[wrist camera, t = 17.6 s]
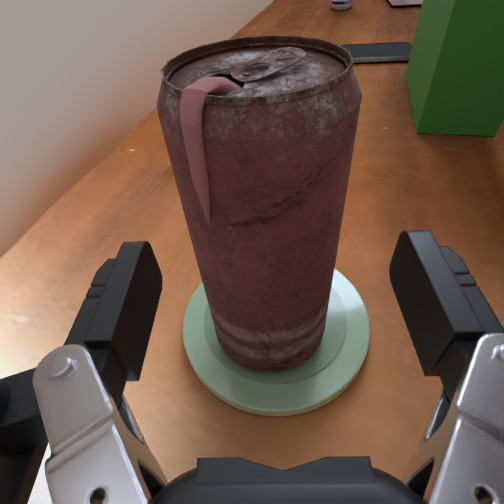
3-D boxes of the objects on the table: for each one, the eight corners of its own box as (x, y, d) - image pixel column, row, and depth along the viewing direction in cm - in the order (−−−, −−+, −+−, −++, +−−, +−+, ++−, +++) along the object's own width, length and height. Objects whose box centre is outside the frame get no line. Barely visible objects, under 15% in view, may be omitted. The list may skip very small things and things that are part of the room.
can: (195, 358, 18) (92, 90, 8) (243, 275, 22) (211, 26, 12) (303, 400, 16) (333, 116, 7) (334, 300, 20) (383, 30, 11)
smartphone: (318, 45, 58) (409, 41, 56) (318, 50, 59) (408, 46, 57) (318, 59, 53) (419, 55, 51) (318, 64, 54) (418, 60, 51)
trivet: (314, 241, 26) (315, 232, 25) (409, 371, 18) (413, 363, 17) (170, 285, 23) (167, 276, 23) (210, 453, 16) (207, 447, 15)
